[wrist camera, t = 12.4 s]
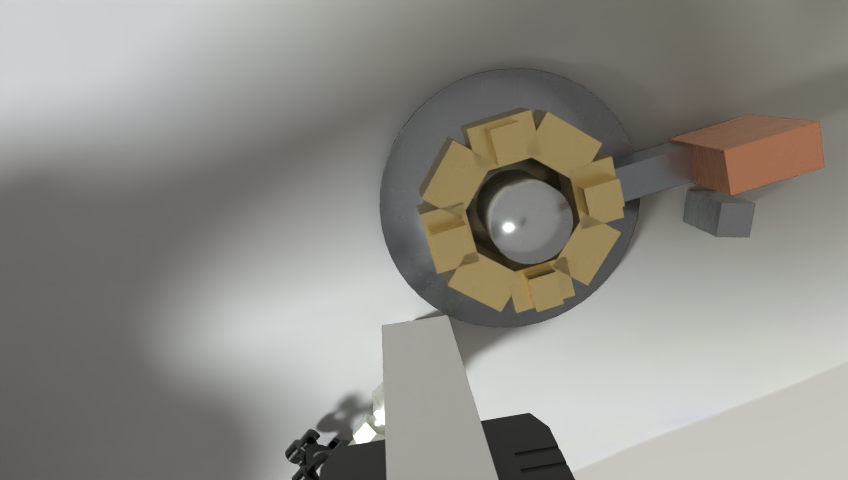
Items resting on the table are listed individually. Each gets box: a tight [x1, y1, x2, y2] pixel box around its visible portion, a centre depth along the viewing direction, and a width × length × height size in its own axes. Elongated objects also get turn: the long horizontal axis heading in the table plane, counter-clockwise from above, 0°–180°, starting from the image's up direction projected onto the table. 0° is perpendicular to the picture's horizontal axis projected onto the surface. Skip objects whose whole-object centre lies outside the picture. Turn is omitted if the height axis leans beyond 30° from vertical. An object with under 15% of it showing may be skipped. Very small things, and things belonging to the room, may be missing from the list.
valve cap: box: [380, 69, 640, 327], centre depth 35 cm, size 16×16×6 cm
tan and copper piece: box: [417, 108, 824, 313], centre depth 34 cm, size 21×11×6 cm, turn 106°
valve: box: [285, 359, 462, 480], centre depth 38 cm, size 7×7×12 cm
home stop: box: [683, 190, 755, 237], centre depth 37 cm, size 2×2×4 cm
